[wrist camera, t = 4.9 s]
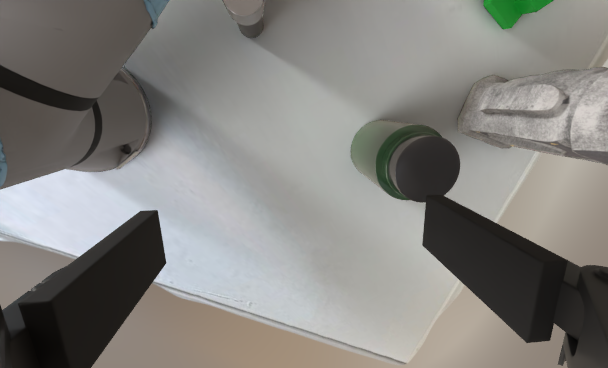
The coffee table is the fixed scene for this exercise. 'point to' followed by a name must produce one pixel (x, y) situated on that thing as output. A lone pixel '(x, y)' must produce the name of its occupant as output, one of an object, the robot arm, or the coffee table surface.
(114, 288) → the robot arm
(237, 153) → the coffee table surface
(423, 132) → the bottle
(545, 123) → the figurine
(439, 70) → the coffee table surface
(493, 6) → the bracket
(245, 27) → the flashlight
